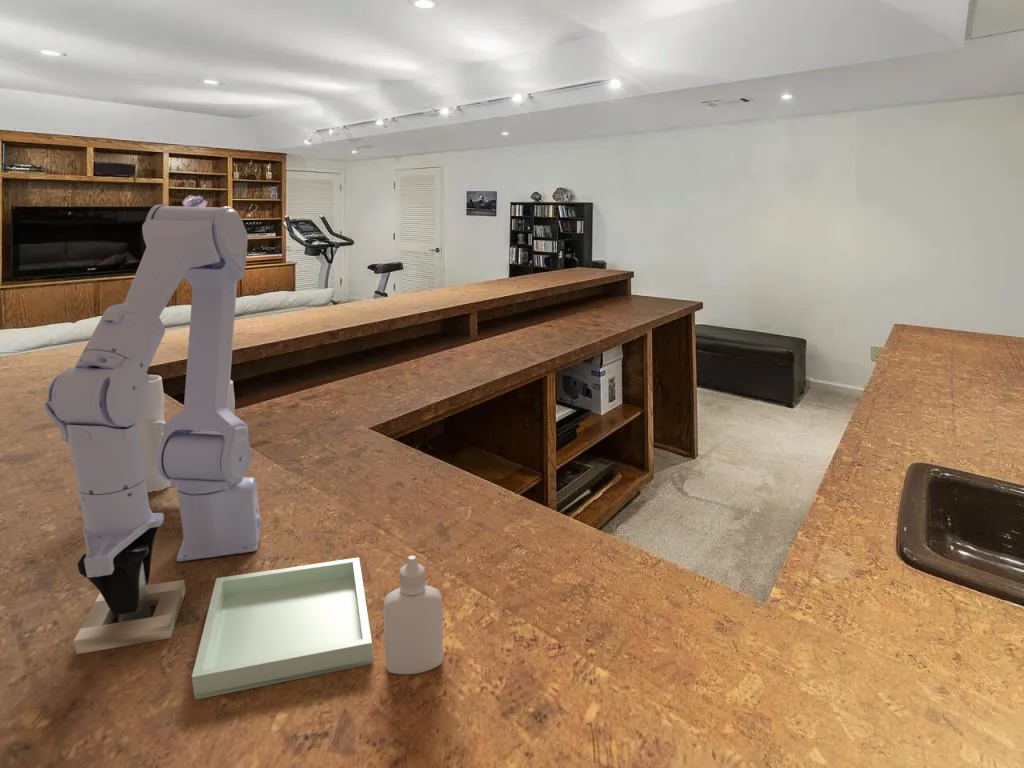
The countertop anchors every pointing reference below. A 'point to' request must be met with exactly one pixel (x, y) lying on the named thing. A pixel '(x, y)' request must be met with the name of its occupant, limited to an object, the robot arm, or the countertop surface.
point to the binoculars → (159, 431)
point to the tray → (283, 627)
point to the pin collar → (132, 621)
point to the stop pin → (143, 603)
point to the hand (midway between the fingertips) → (131, 598)
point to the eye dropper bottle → (413, 623)
